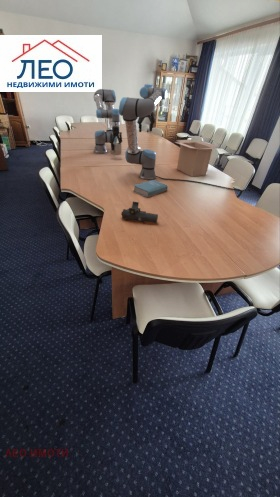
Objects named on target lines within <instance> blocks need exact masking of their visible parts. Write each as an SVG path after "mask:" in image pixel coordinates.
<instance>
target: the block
mask: <svg viewBox="0 0 280 497" xmlns="http://www.w3.org/2000/svg"><path fill="white" fill-rule="evenodd" d="M113 144H114V151H113V150H112V147H111V146H110V155H112V156H121V155H122V143H121V144H120V143H119V142H116V143H113Z"/></svg>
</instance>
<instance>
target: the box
mask: <svg viewBox="0 0 280 497" xmlns="http://www.w3.org/2000/svg"><path fill="white" fill-rule="evenodd" d="M174 143H175V144H178V145H179V151H178V152H179V153H178V158H177V165H176V169H177V170H178V171H179V172H182V173H184V174H186V175H188V176H190V177H199V176H206V175H207V172H208V168H209V164H210V160H211V156H212V151H213V149H218V148H219V145H215V144H212V143H209V142H207V141H203V140H201V141H193V140H191V139H176V140H175V141H174Z"/></svg>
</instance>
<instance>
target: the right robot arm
mask: <svg viewBox="0 0 280 497" xmlns="http://www.w3.org/2000/svg"><path fill="white" fill-rule="evenodd" d="M167 94H168V90H167V88H164V87H154V85H153V84H148V83H147V84H144V86H142V87H140V89H139V96H140V97H141V98H137V97H129V96H127V97H126V96H125V97H121V99H120V100H119V105H118V109H119V114H120V116H121V117H122V120H123V121H124V122H125V130H126V131H125V132H126V138H127V148H126V150H125V153H124V154H125V156H124V157H125V161H126V162H127V163H128V164H132V165H139V166H141V169H140V172H139V178H140V179H142V180H146V181H150V180H156V178H158V179H161V180H165V181H180V182H190V183H195V184H196V183H198V184H203V185H208V186H212V187H216V188H222V189H226V190H232V191H237V192H246V191H248V192H251V189H250V188H245V189H238V188H237V189H236V188H232V187H227V186H222V185H217V184H212V183H207V182H202V181H197V180H189V179H179V178H165V177H161V176H157V174H156V169H155V167H156V159H157V158H156V157H157V153H156V152H155V151H154V150H152V149H148V148H145V149H142V150H141V147H140V146H139V139H138V138H139V137H138V132H139V133H142V131H143V130H142V128H143V122H144V120H145V119H146V118H148V120H149V132H153V127H154V124H155V123H156V121H155V117H154V112H155V109H156V107H157V105H158V104H159V102H161V100H162V101H163V100H166V99H167V96H168V95H167ZM137 124H138V126H137Z"/></svg>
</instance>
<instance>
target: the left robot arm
mask: <svg viewBox="0 0 280 497" xmlns="http://www.w3.org/2000/svg"><path fill="white" fill-rule="evenodd" d="M116 95H117V94H116V92H115V90H114V89H105V88H99V89H97V90H96V91H94V94H93V101H94V103H95V106H96V109H95V116H96V118H98V119H106V127H107V129H106V130H103V129H101V130H95V131H94V141H95V142H94V144H95V145H94V149H93V153H95V154H107V153H108V150H107V147H106V144H110V148H111V147H112V150H113V151H114V144H113V143H120V144H121V145H122V143H123V135H122V134H123V132H122V131H120V126H121V125H120V122H121V121H120V118H121V117H120V116H121V115H120V114H119V108H115V107H114V106H115V103H116V102H117V97H116Z"/></svg>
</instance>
